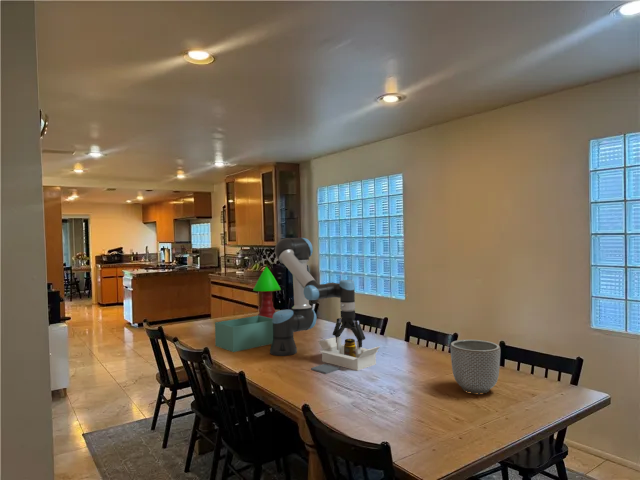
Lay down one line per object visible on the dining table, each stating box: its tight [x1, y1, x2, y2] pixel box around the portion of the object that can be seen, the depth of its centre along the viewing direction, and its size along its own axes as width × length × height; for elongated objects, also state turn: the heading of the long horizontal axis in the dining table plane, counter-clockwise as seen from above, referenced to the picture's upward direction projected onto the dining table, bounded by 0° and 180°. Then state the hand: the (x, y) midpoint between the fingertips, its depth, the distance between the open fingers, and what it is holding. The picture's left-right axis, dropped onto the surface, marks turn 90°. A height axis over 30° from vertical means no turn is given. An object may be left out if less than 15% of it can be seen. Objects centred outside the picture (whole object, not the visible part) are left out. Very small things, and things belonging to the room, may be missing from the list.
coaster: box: [310, 363, 341, 375], centre depth 218 cm, size 10×10×1 cm
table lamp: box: [252, 266, 282, 318], centre depth 314 cm, size 20×20×45 cm
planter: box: [449, 339, 501, 395], centre depth 185 cm, size 20×20×19 cm
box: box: [214, 315, 273, 353], centre depth 272 cm, size 21×32×14 cm, turn 132°
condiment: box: [344, 338, 357, 357], centre depth 229 cm, size 7×8×12 cm
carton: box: [317, 336, 381, 372], centre depth 229 cm, size 31×20×10 cm, turn 45°
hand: (348, 351), depth 228 cm, fingers open, 13 cm apart
